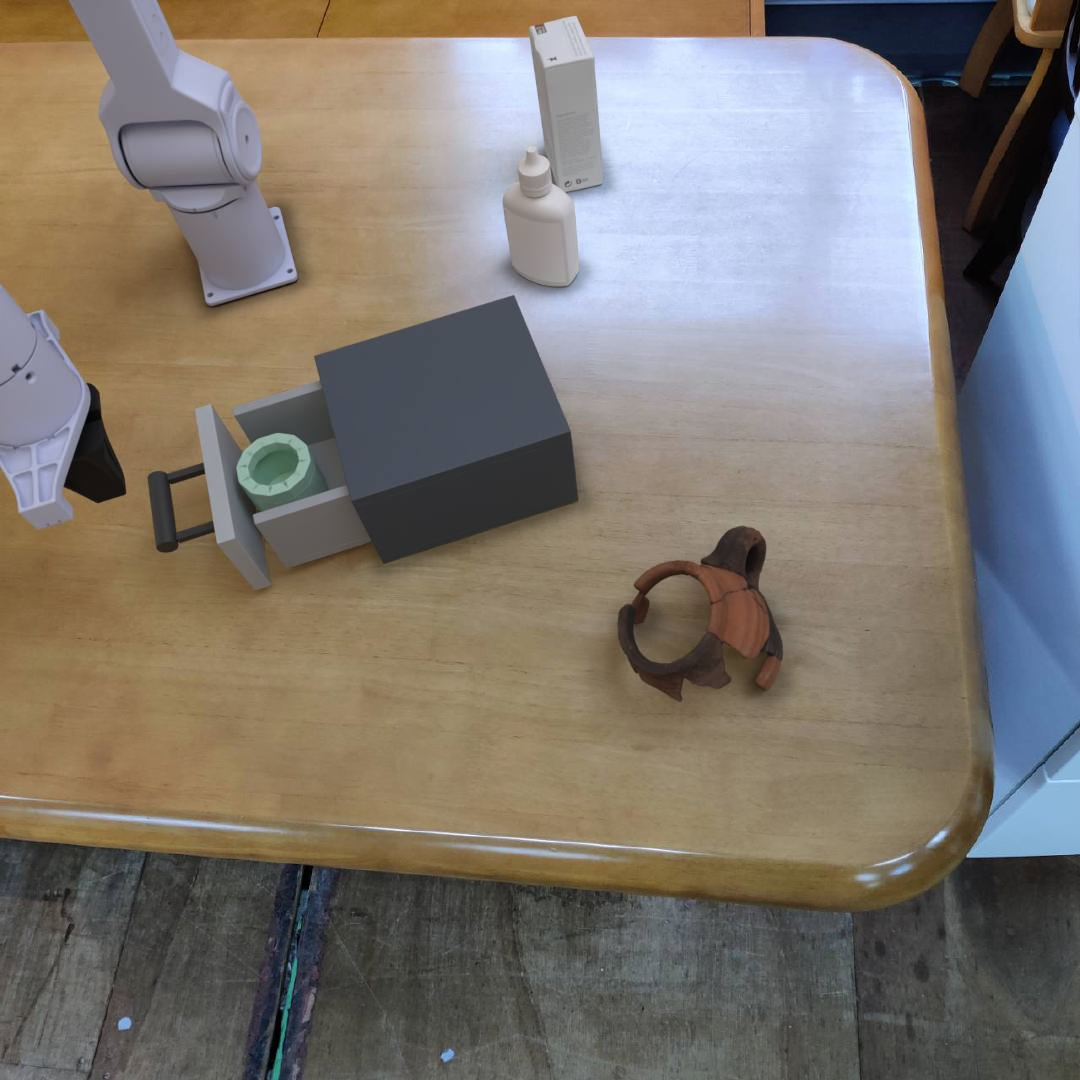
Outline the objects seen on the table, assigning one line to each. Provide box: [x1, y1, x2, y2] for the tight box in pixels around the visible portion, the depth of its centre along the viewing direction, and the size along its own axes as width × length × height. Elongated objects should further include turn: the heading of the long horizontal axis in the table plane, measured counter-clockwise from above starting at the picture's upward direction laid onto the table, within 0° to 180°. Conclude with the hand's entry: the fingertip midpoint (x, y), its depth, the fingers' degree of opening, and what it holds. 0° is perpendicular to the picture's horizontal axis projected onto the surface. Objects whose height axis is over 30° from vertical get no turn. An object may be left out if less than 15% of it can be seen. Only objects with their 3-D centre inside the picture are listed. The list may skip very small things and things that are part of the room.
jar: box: [236, 433, 328, 513], centre depth 66 cm, size 5×5×4 cm
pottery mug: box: [616, 525, 784, 703], centre depth 60 cm, size 12×10×8 cm
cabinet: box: [313, 294, 579, 564], centre depth 67 cm, size 15×13×9 cm
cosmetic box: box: [528, 15, 604, 193], centre depth 80 cm, size 6×4×12 cm
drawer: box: [146, 380, 372, 591], centre depth 66 cm, size 18×11×7 cm, turn 108°
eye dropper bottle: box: [502, 145, 581, 287], centre depth 74 cm, size 4×6×12 cm
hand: (110, 490), depth 61 cm, fingers closed
